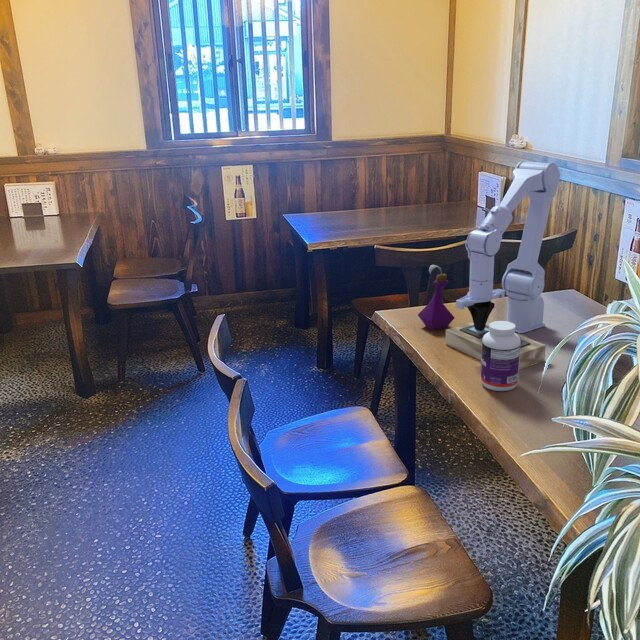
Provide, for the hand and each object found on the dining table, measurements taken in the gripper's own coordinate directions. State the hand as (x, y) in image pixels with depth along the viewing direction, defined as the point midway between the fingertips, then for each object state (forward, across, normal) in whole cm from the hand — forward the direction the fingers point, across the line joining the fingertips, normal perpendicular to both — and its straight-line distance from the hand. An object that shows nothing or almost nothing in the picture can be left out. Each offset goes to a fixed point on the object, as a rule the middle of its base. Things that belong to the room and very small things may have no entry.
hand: (479, 329), depth 158 cm
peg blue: (+4, 0, 0) cm, 4 cm away
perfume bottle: (+5, 0, -17) cm, 18 cm away
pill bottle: (+5, +12, +19) cm, 23 cm away
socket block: (+4, 0, +5) cm, 7 cm away
